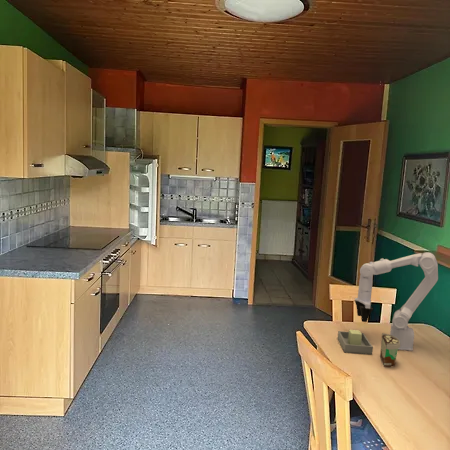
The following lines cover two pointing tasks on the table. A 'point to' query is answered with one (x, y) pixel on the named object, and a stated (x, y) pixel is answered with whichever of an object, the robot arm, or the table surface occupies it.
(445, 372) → the table surface
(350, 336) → the block
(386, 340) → the food container
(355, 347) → the bin
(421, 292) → the robot arm
